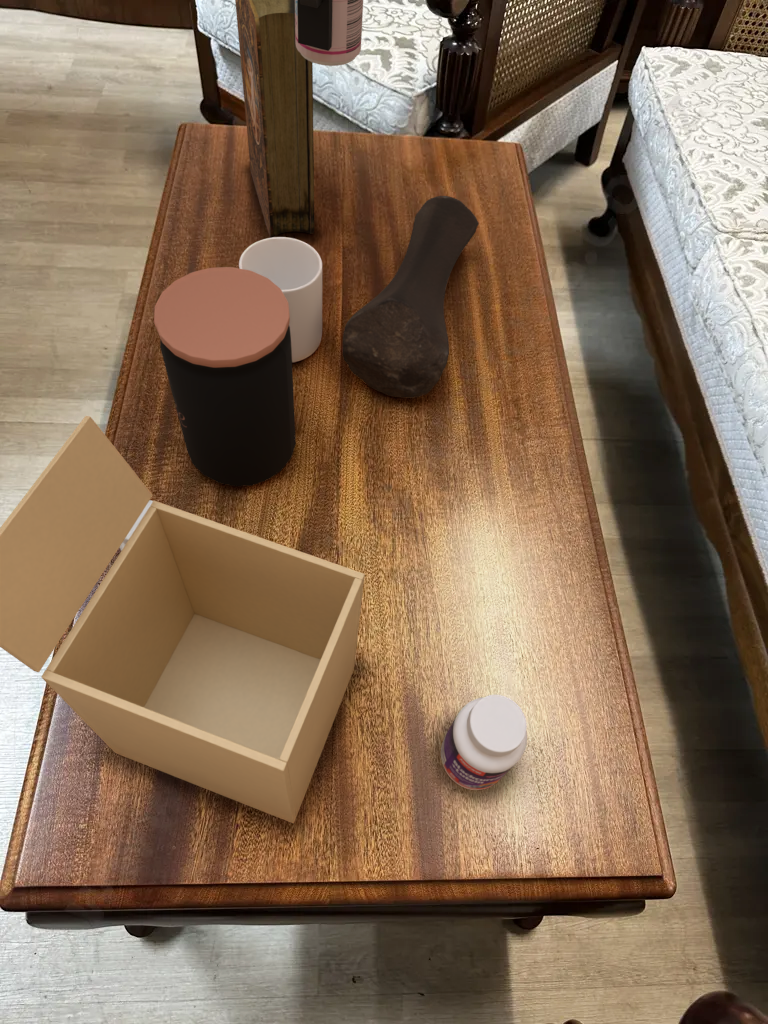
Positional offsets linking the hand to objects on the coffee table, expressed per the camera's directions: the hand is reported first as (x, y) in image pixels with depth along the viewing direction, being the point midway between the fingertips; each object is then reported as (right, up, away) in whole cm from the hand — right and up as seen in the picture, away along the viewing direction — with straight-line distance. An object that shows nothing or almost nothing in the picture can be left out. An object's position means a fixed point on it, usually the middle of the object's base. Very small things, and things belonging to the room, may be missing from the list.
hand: (328, 28), depth 62 cm
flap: (-13, -43, -20) cm, 50 cm away
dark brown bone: (+8, -19, +23) cm, 30 cm away
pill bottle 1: (-15, -47, +3) cm, 49 cm away
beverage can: (0, -1, +2) cm, 2 cm away
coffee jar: (-9, -35, +11) cm, 38 cm away
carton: (-7, -57, -3) cm, 58 cm away
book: (-9, -1, +32) cm, 33 cm away
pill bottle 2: (+12, -61, -4) cm, 62 cm away
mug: (-8, -22, +19) cm, 30 cm away
